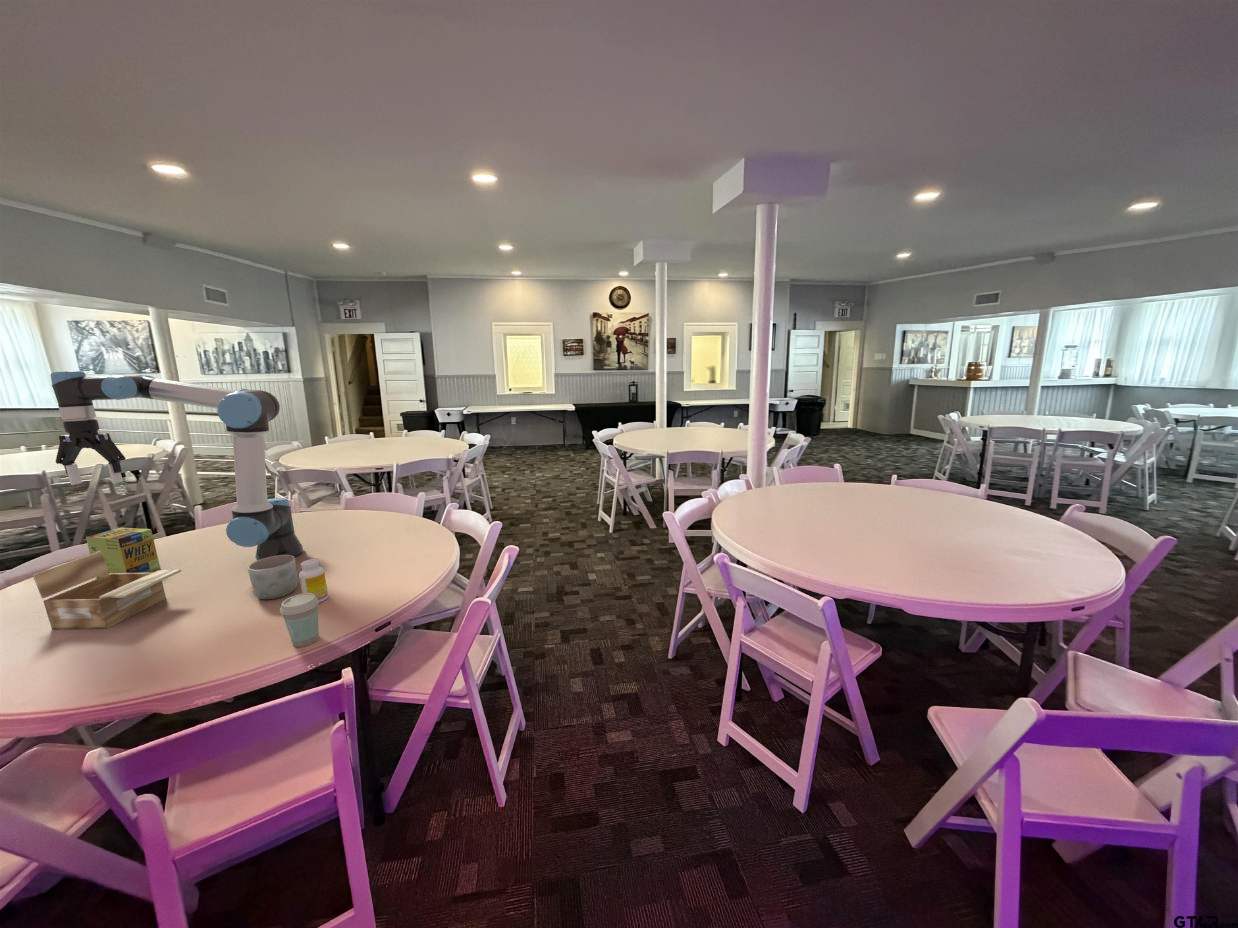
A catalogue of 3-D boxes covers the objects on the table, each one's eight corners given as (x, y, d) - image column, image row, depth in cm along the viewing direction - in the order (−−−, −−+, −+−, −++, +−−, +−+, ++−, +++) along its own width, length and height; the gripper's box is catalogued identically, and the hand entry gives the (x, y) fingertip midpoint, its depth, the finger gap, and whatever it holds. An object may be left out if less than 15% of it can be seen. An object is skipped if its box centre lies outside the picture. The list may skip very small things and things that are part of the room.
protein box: (128, 580, 168) (117, 538, 165) (95, 577, 171) (84, 536, 168) (161, 567, 178) (152, 528, 175) (129, 565, 181) (120, 526, 178)
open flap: (43, 598, 134) (19, 601, 135) (108, 571, 151) (86, 574, 152) (34, 574, 133) (9, 577, 133) (101, 550, 150) (78, 553, 150)
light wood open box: (188, 597, 153) (182, 569, 151) (131, 628, 136) (123, 596, 134) (117, 599, 154) (109, 570, 152) (51, 629, 136) (41, 597, 134)
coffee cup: (298, 633, 131) (291, 593, 128) (330, 631, 131) (324, 591, 129) (279, 651, 122) (271, 608, 120) (314, 649, 123) (306, 606, 121)
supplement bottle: (333, 596, 152) (327, 558, 149) (314, 606, 145) (307, 567, 143) (318, 593, 154) (311, 556, 151) (298, 603, 148) (291, 564, 145)
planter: (264, 606, 146) (257, 573, 144) (246, 597, 153) (240, 565, 151) (307, 590, 157) (302, 559, 154) (289, 581, 163) (283, 552, 161)
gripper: (130, 416, 157) (145, 479, 162) (54, 419, 157) (71, 481, 162) (106, 419, 150) (123, 484, 154) (26, 422, 150) (46, 487, 154)
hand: (97, 483), depth 158 cm, fingers open, 13 cm apart
